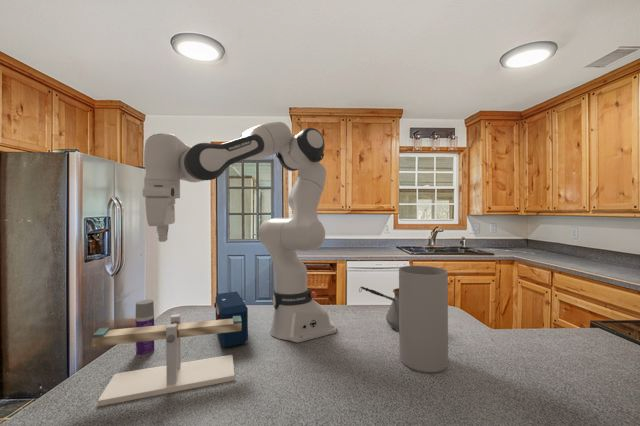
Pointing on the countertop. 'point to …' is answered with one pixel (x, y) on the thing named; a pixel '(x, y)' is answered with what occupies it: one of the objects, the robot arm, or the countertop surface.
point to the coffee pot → (393, 312)
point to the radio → (228, 308)
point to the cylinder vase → (423, 318)
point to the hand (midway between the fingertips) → (163, 241)
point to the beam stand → (168, 374)
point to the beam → (164, 331)
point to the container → (144, 325)
